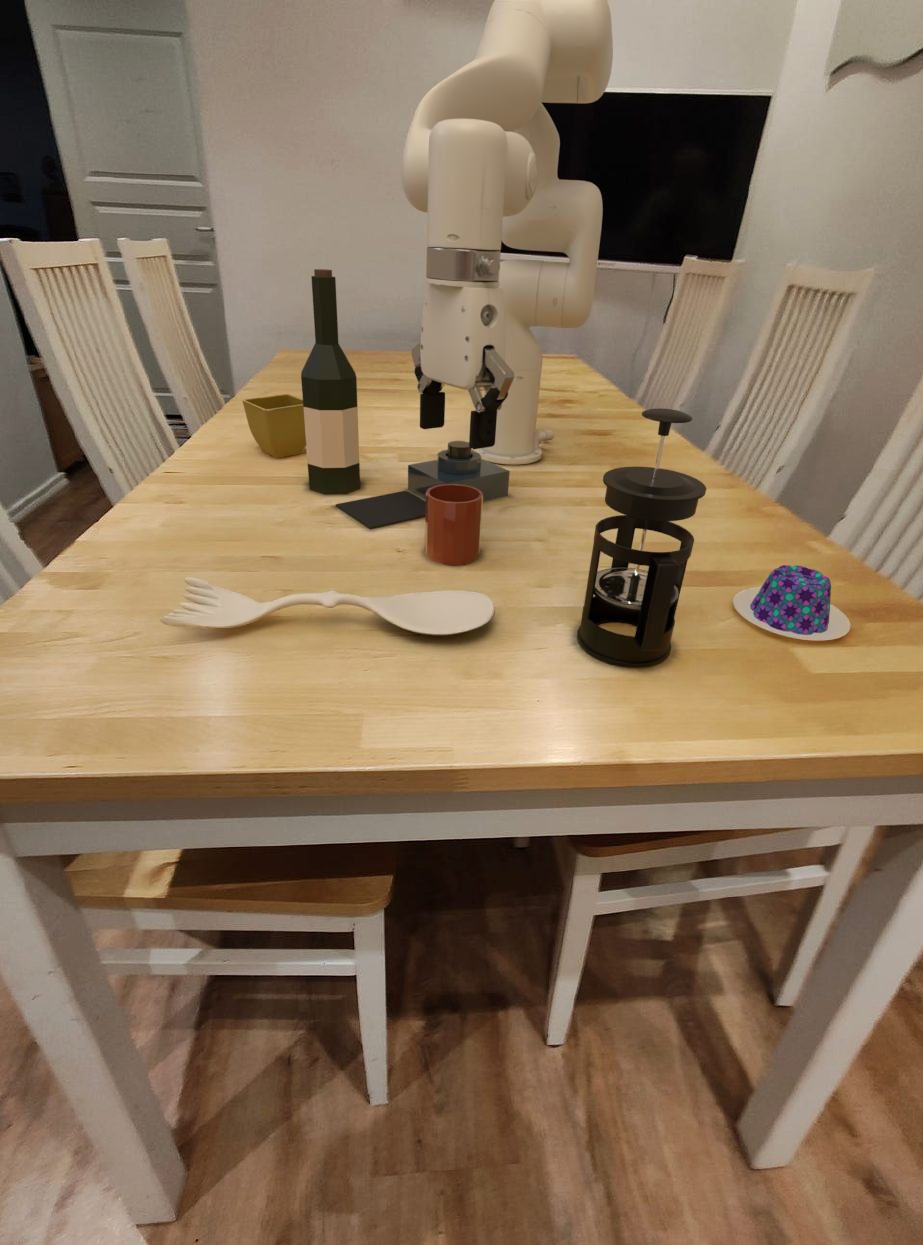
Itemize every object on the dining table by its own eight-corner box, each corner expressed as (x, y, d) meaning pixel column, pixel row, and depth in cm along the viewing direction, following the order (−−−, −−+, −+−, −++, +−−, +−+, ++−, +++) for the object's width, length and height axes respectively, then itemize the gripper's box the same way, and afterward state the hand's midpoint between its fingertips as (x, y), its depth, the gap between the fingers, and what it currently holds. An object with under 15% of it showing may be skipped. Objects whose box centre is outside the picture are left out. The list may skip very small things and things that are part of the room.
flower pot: (271, 463, 114) (265, 409, 109) (247, 451, 119) (241, 398, 115) (316, 455, 119) (313, 403, 114) (292, 443, 124) (287, 393, 120)
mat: (405, 492, 104) (405, 490, 104) (443, 513, 97) (443, 510, 97) (335, 506, 98) (335, 504, 98) (370, 529, 91) (370, 527, 91)
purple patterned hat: (864, 653, 69) (882, 608, 66) (741, 638, 70) (754, 593, 68) (829, 599, 79) (844, 558, 76) (723, 587, 81) (734, 546, 78)
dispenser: (469, 478, 112) (471, 441, 109) (507, 496, 105) (510, 458, 102) (407, 490, 105) (407, 451, 102) (444, 510, 99) (446, 469, 96)
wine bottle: (351, 497, 101) (341, 273, 86) (298, 492, 103) (280, 269, 87) (368, 480, 108) (362, 270, 93) (319, 475, 110) (305, 266, 95)
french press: (564, 617, 73) (595, 396, 61) (648, 615, 74) (694, 398, 62) (596, 680, 63) (640, 430, 51) (692, 677, 64) (757, 431, 52)
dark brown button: (461, 452, 105) (462, 439, 104) (475, 459, 102) (476, 445, 101) (442, 456, 103) (443, 442, 102) (456, 462, 100) (457, 448, 99)
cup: (458, 539, 90) (460, 480, 86) (489, 557, 85) (494, 496, 81) (414, 549, 86) (415, 489, 82) (445, 569, 81) (448, 506, 77)
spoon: (190, 601, 72) (185, 572, 70) (488, 604, 74) (490, 575, 73) (163, 647, 64) (156, 615, 62) (497, 648, 67) (500, 617, 65)
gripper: (547, 275, 65) (530, 451, 74) (444, 265, 77) (439, 418, 86) (486, 274, 61) (475, 460, 70) (387, 264, 73) (388, 424, 82)
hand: (455, 437), depth 78 cm, fingers open, 9 cm apart
